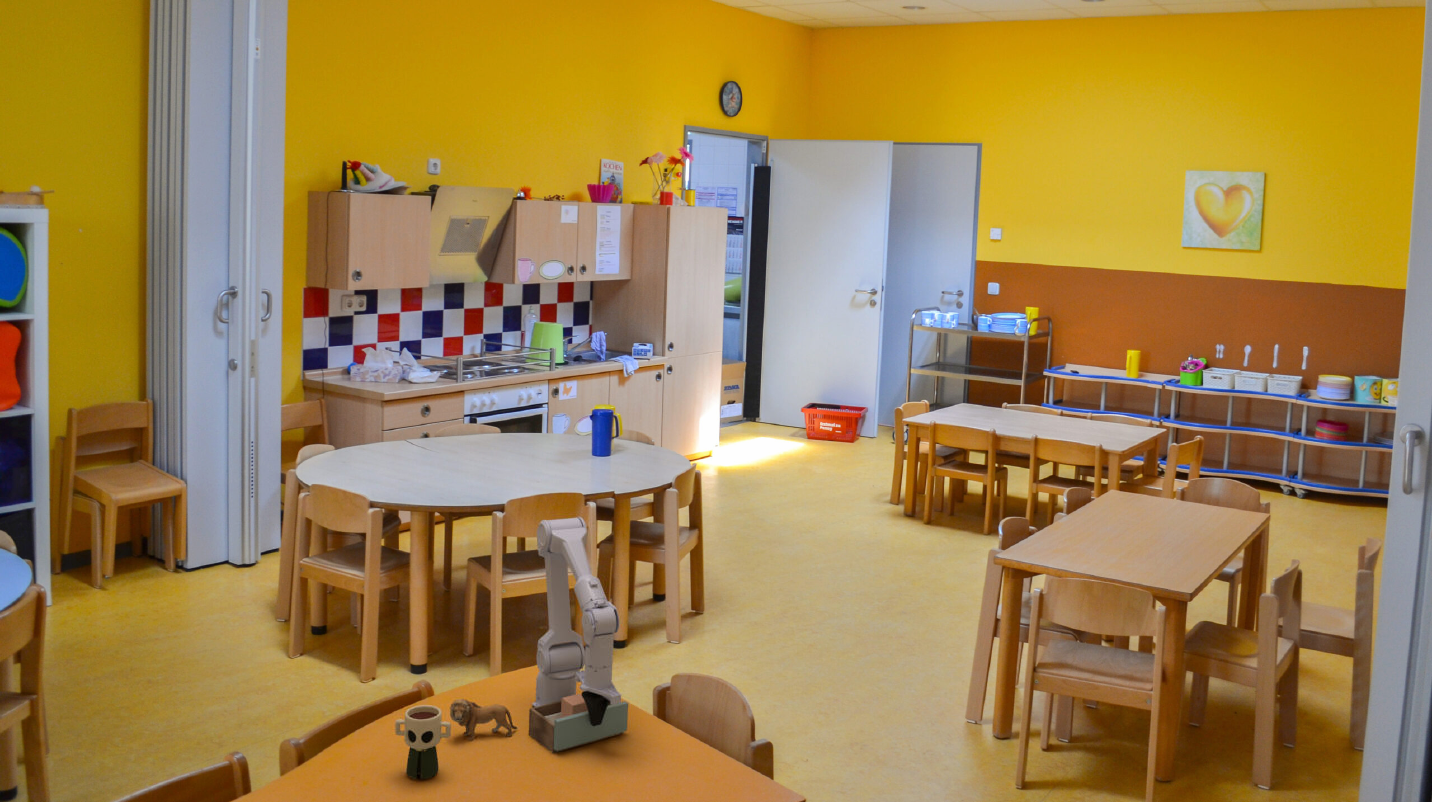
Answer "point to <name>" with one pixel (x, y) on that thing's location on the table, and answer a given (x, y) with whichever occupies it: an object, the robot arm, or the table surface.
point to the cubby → (547, 725)
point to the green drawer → (588, 726)
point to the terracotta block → (573, 705)
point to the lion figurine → (479, 716)
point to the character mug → (422, 739)
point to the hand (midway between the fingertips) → (596, 724)
